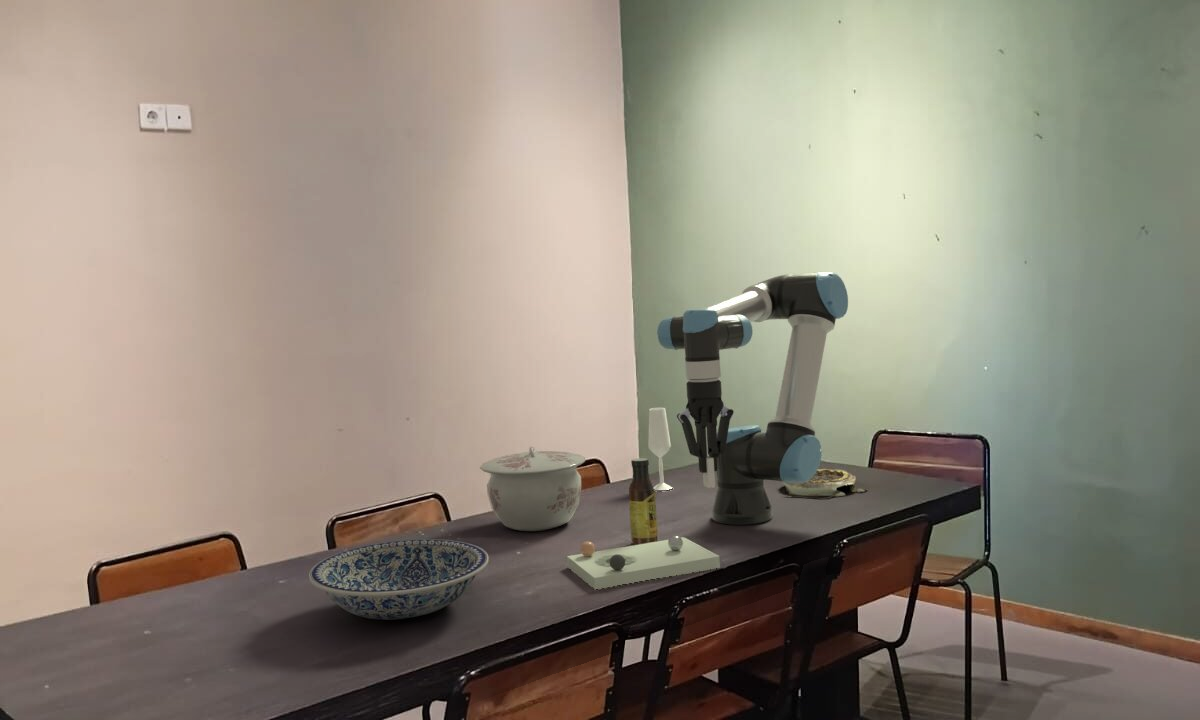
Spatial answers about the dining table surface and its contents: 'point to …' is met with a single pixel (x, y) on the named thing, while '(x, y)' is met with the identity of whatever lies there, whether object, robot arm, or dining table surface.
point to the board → (642, 563)
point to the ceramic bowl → (399, 576)
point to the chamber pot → (534, 488)
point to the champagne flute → (659, 440)
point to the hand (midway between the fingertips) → (709, 486)
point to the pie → (824, 484)
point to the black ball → (617, 562)
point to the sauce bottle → (642, 504)
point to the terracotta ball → (587, 548)
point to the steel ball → (675, 543)
